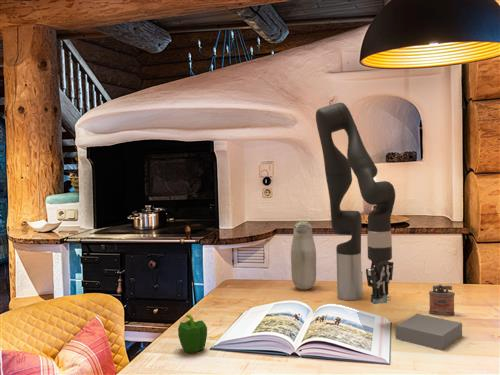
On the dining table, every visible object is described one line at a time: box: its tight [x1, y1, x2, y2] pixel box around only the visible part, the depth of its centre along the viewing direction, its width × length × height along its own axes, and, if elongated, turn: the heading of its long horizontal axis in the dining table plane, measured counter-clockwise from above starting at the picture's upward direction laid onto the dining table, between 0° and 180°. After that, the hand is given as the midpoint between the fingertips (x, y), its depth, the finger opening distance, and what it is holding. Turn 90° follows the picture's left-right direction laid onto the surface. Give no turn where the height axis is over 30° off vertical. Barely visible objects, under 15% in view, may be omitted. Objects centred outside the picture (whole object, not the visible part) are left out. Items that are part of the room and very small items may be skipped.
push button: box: [370, 272, 392, 305], centre depth 162 cm, size 7×5×10 cm
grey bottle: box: [290, 220, 317, 291], centre depth 206 cm, size 10×10×28 cm
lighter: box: [428, 283, 456, 317], centre depth 170 cm, size 8×3×10 cm, turn 70°
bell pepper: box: [177, 313, 208, 354], centre depth 146 cm, size 8×8×10 cm
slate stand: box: [395, 313, 463, 351], centre depth 150 cm, size 14×14×4 cm
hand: (380, 296), depth 162 cm, fingers closed on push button, 5 cm apart
